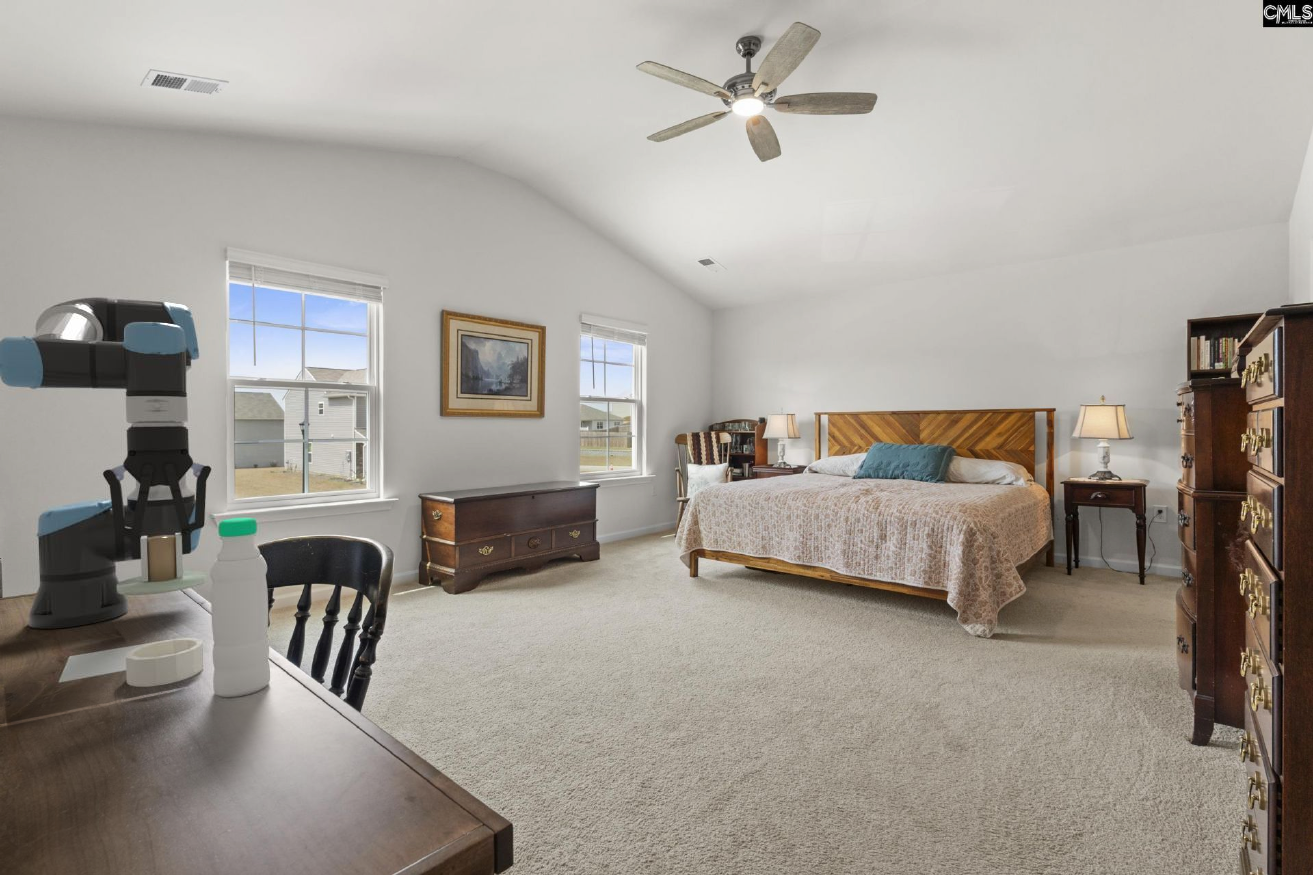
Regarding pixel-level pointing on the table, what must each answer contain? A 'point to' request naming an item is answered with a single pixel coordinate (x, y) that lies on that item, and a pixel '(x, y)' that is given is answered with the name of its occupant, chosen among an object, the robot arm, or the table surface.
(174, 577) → the lid
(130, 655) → the bowl
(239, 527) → the water bottle
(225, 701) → the table surface
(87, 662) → the mat
